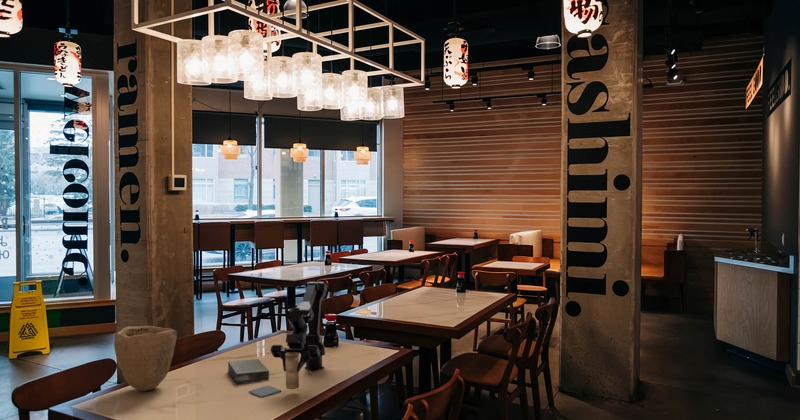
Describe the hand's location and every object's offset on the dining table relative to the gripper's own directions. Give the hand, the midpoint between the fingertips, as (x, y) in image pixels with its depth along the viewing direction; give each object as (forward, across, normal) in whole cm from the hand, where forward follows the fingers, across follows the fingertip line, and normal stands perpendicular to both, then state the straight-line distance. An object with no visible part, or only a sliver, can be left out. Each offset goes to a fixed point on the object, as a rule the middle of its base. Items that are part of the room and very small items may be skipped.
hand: (291, 371), depth 207 cm
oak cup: (+4, 0, +6) cm, 7 cm away
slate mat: (+5, -12, +8) cm, 15 cm away
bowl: (+5, -60, +8) cm, 61 cm away
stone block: (-9, -26, +23) cm, 36 cm away
